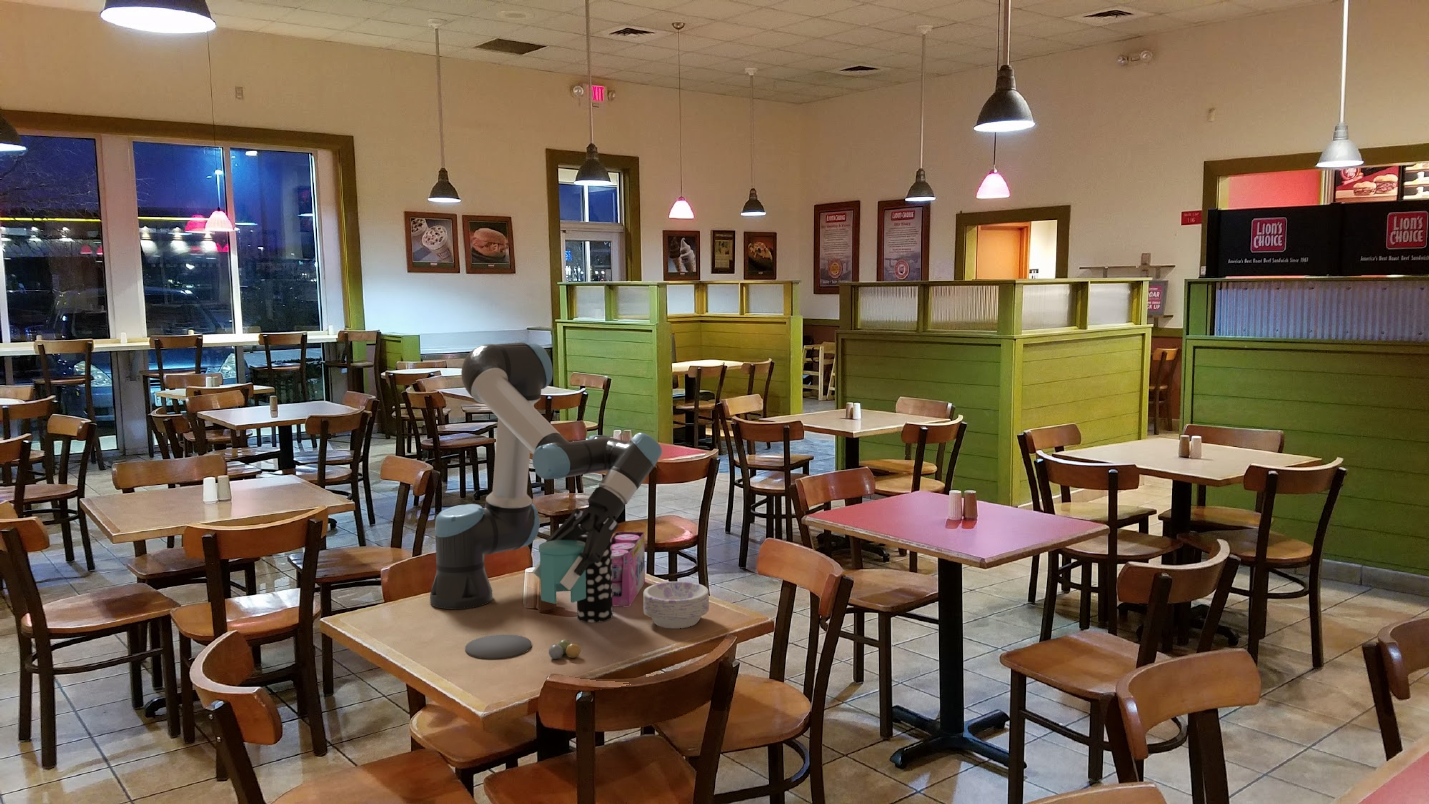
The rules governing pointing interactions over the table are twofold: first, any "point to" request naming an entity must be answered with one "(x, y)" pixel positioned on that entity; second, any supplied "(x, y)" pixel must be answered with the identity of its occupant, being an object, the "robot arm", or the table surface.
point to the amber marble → (573, 650)
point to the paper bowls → (676, 603)
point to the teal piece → (560, 569)
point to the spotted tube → (597, 588)
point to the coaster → (498, 646)
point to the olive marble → (564, 645)
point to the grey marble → (555, 651)
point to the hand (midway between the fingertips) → (550, 581)
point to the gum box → (627, 567)
